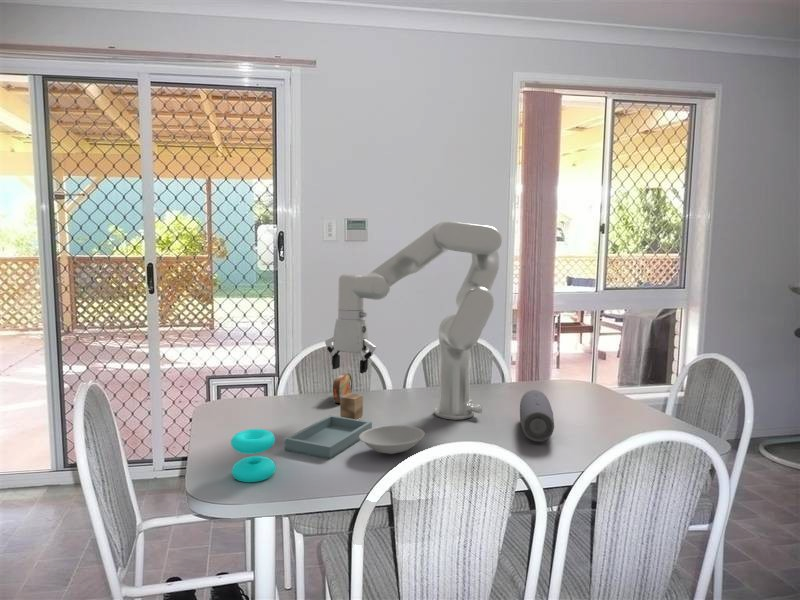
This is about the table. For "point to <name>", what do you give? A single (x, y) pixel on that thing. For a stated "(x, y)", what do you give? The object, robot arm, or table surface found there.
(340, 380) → the tin
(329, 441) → the tray
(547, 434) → the bluetooth speaker
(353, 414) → the block
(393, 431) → the dish
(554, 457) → the table surface
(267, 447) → the donuts
